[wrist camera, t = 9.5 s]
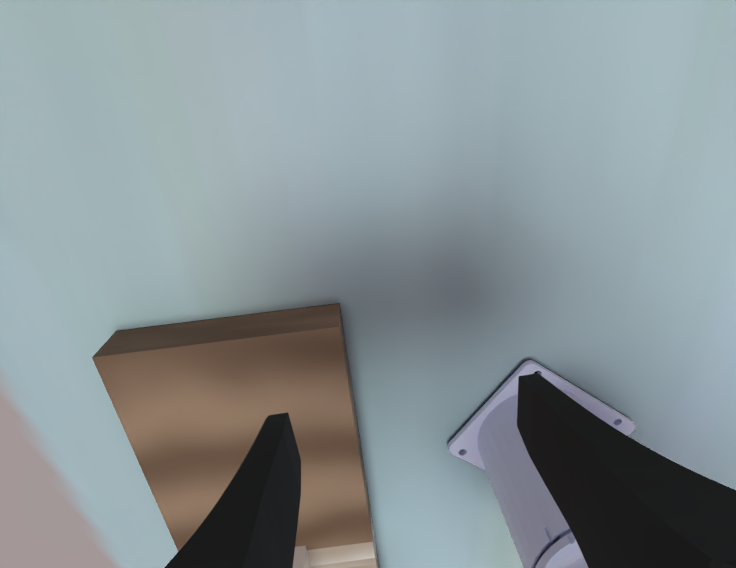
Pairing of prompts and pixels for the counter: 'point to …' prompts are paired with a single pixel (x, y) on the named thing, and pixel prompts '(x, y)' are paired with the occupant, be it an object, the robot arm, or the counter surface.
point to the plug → (301, 558)
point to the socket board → (245, 418)
